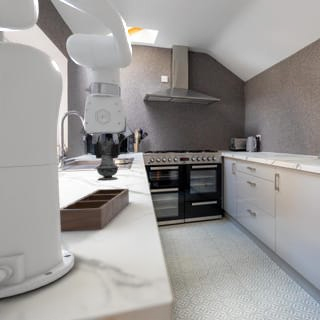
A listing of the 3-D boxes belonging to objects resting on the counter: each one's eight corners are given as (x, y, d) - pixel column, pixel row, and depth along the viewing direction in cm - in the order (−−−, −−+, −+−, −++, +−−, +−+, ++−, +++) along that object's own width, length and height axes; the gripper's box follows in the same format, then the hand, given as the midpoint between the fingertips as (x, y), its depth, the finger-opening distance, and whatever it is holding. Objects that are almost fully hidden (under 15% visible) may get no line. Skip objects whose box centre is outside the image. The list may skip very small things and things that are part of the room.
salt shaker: (123, 178, 77) (122, 137, 76) (111, 180, 71) (110, 136, 70) (104, 178, 77) (103, 137, 77) (91, 180, 72) (90, 136, 71)
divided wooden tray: (101, 228, 56) (100, 208, 56) (56, 231, 55) (55, 210, 54) (128, 202, 81) (128, 188, 80) (98, 203, 79) (98, 189, 79)
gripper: (66, 88, 68) (68, 158, 69) (134, 91, 71) (135, 158, 72) (79, 94, 75) (80, 157, 76) (139, 96, 78) (140, 157, 79)
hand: (107, 157), depth 74 cm, fingers closed on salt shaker, 3 cm apart
